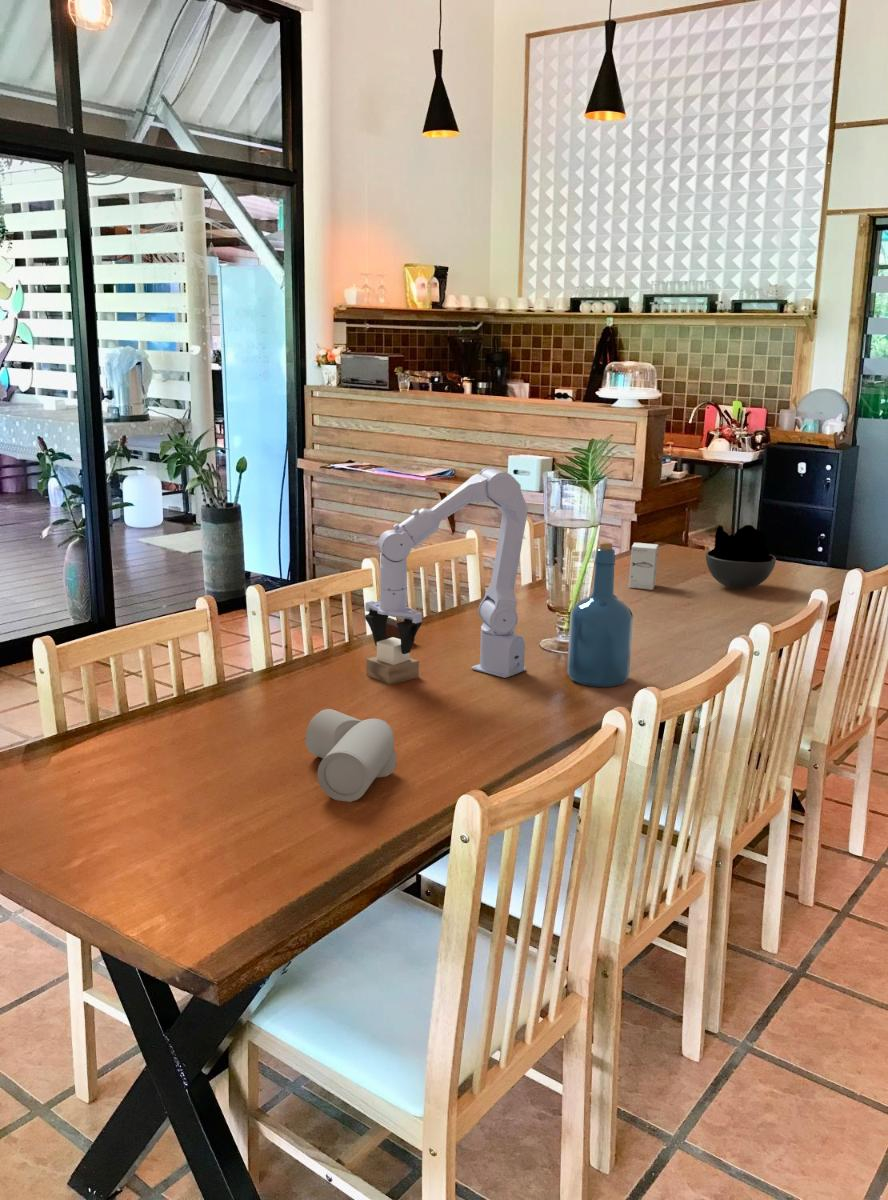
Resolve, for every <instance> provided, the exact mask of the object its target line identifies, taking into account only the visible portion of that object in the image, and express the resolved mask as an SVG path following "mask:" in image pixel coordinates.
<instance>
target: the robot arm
mask: <svg viewBox="0 0 888 1200" xmlns="http://www.w3.org/2000/svg"><path fill="white" fill-rule="evenodd" d="M489 500H490V501H491V502H492V503H493V504H494V505H495V506H496V508H497V509H498V510H499V511H500V513H501V515H502V516H501V521H500V526H499V533H498V538H497V543H496V551H495V557H494V562H493V568H492V573H491V579H490V584H489V586H488V587H487V588H486V590H485V594H484V597H483V599H482V600H481V602H479V606H478V610H477V612H478V616H479V618H480V620H482V625H481V626H480V647H479V648H480V653H479V654H480V655H479V663H478V664H475V665H473V666H471V670H474V671H477V672H481V673H486V674H488V675H489V674H490V675H493V676H496V677H500V678H503V679H504V678H505V679H506V678H510V677H512V676H515V675H517V674H519V673H522V672H524V671H526V670H527V668H526V667H525V655H526V654H525V651H526V643H525V639H524V637H522V636H521V635H519V634H517V633H516V632H515V629H516V626H517V625H518V621H519V620H518V619H519V618H518V613H517V609H516V608H517V597H516V594H515V588H516V587H515V585H516V582H517V581H516V580H517V574H518V569H519V564H520V558H521V557H520V556H521V551H522V545H523V541H524V540H523V539H524V535H525V528H526V524H527V517H528V511H529V510H528V505H527V503H526V500H525V498H524V495H523V492H522V490H521V484H520V482H519V481H517V479H516V478H515V477H514V476H513V475H512V474H511V473H508V472H505V471H502V470H500V469H498V468H497V467H490V466H489V467H485V468H483V469H481V471H480V472H479V473H476V474H473V475H472V476H470V477H469V478H468V479H467V480H465V481H464V482H463V483H462V484H460V486H458V487H457V488H456V489H454V490H453V491H451V493H449V494H448V495H447V496H445V497H444V498H443V499H441V501H439V502H438V503H437V504H436V505H434V506H433V507H431V508H429V509H428V508H425V507H424V508H423V507H422V508H419V510H418V509H417V508H415V509H414V510H413V511H411V512H410V513H411V514H412V515H410V516H408V518H406V519H405V520H403V521H402V522H400V523H399V524H398V523H395V524H394V525H393V526H392V527H393V528H394V529H387V530H385V531H383V532H382V533H381V534H380V535H379V538H378V541H377V542H376V546H377V550H378V551H379V552H380V559H379V560H380V563H379V564H380V565H379V601H374V600H371V601H367V602H365V612H366V613H367V612H368V613H367V614H365V615H364V619H365V621H366V623H367V624H368V626H369V628H370V631H371V634H372V638H373V640H374V641H373V642H374V645H375V647H376V648H377V642H378V641H382V640H385V630H386V623H387V619H388V617H391V618H395V619H396V618H397V619H400V620H403V621H400V622H399V623H397V626H398V629H399V632H400V638H401V652H402V654H407V653H410V654H411V650H412V648H413V647H412V646H413V644H414V643H413V641H414V638H416V635H417V634H418V631H419V629H420V627H422V624H423V613H422V612H419V611H416V610H415V609H413V608H410V607H409V606H408V605H407V603H408V600H407V599H408V597H407V596H408V595H407V594H408V566H407V558H408V557H409V555H410V553H411V550H412V549H413V548H415V547H417V546H418V545H419V544H421V543H423V542H424V541H425V540H427V539H428V538H430V537H431V536H432V535H434V534H435V533H436V532H438V530H439V527H440V523H441V522H442V521H444V520H445V519H447V518H448V517H450V516H451V515H453V514H455V513H456V512H458V511H459V510H461V509H462V508H464V507H465V506H467V505H469V504H470V503H472V502H475V503H476V502H478V503H479V502H481V503H483V502H485V503H486V502H489ZM414 642H415V641H414Z"/></svg>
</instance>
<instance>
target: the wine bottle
mask: <svg viewBox="0 0 888 1200" xmlns="http://www.w3.org/2000/svg"><path fill="white" fill-rule="evenodd" d="M595 552H596V553H595V557H594V562H593V564H594V571H593V572H594V573H593V583H592V584H593V586H592V593H591V594H590V595H589V596H587V597H585V598H583V599H581V600H580V601H578V602H577V603H575V604H574V605H573V607H572V608H571V611H570V614H569V616H570V617H569V631H568V632H569V634H568V650H567V653H568V654H567V669H566V671H567V674H568V676H569V677H570V680H571V681H573V682H575V683H578V684H580V685H583V686H589V687H595V688H610V687H615V686H621V685H624V683H626V682H627V681H628V679H629V677H630V671H631V669H630V668H631V655H632V643H633V642H632V640H633V628H634V627H633V625H634V615H633V613H632V611H631V609H630V608H629V606H628V605H627V604H626V603H625V602H624V601H622V600H620V599H619V598H618V596H616V595H615V594H614V593H615V591H614V589H615V588H614V586H615V585H614V583H615V565H616V555H615V549H614V548H613V543H612V542H610V541H600V542H599V546H598V548H596V551H595Z"/></svg>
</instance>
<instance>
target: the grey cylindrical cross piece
mask: <svg viewBox="0 0 888 1200" xmlns="http://www.w3.org/2000/svg"><path fill="white" fill-rule="evenodd" d="M394 736H395V735H394V732H393V730H392V727H391V726H390V725H389V724H388V723H387V722H386V721H385V720H383V719H379V718H368V719H367V718H366V719H363V720H361V719H358V718H356V717H354V716H350V715H348V714H346V713H342V712H340V711H338V710H334V709H333V708H325V709H322V710H320V711H319V712H317V713H316V714H315V715H314V716H313V717H312V719H310V722H309V723H308V725H307V728H306V732H305V745H306V747H307V749H308V751H309V752H310V753H311V755H314V756H316V757H319V758H321V761H320V763H319V765H318V767H317V768H318V769H317V780H318V783H319V787H321V789H322V791H323V792H324V793H325V794H326V795H327V796H328V797H330V798H331V799H333V800H335V801H343V802H348V803H352V802H355V801H357V800H359V799H361V797H362V796H364V795H365V793H366V792H367V791H368V789H369V788H370V786H371V785H372V784H373V782H374V780H375V779H376V778H383V777H384V778H385V777H388V776H389V775H391V774H392V773H393V772H394V770H395V768H396V766H397V761H398V760H397V753H396V749H395V747H394V746H395V745H394V743H395V737H394Z"/></svg>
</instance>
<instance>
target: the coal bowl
mask: <svg viewBox="0 0 888 1200" xmlns="http://www.w3.org/2000/svg"><path fill="white" fill-rule="evenodd" d="M714 536H715V537H714V548H713V549H711V550H708V551H706V553H705V562H706V565H707V569H708V570H709V572H710V574H711V575H712V577H713V578H714V579H715V580H716V581H717V582H718V584H721V585H723V586H725V587H726V588H729V589H732V588H733V590H739V589H741V590H749V589H753V588H754V587H758V586H759V585H760V584H762V583H763V582H765V580H767V579H768V578H769V577H770V575H771V573H772V572H773V570H774V569H775V566H776V565H775V564H776V562H777V557H776V556H774V555H772V554H770V553H769V551H768V550H767V546H766V540H767V539H768V537H767V535H766V534H765V532H763V531H761V530H758V529H756V528H755V526H753V525H751V524H746V525H744V526H742V527H740V528H738V529H736V532H735V533H734V534H729V533H728V532H727V531H724V527H723V525H720V524H719V525H718V526H717V529H716V532H715V535H714Z"/></svg>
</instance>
